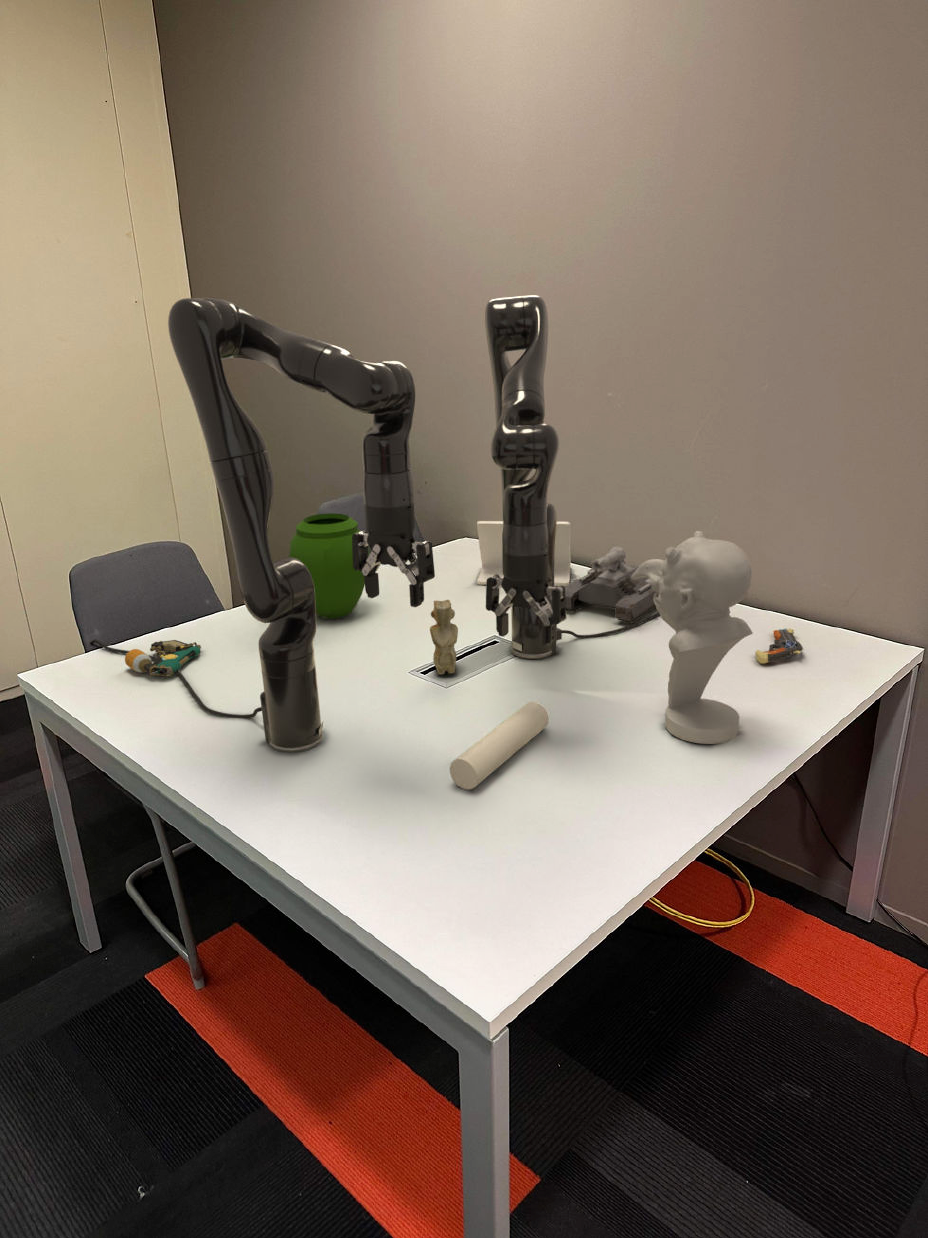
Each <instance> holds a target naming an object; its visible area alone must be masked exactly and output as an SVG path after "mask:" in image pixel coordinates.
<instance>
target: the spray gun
mask: <svg viewBox="0 0 928 1238" xmlns="http://www.w3.org/2000/svg"><path fill="white" fill-rule="evenodd" d="M201 649H202V645H201V644H198V643H197V642H196V641H194V642H190V643H186V642H183V641H181V640H177V639H171V640H159V641H154V642H153V643H151V645H150V648H149V651H150V652H155V653H156V658H155V659H154V660H152V659H151V658H150V657H149V656H148V655H149V654H147V653H145V651H142V650H141V649H138V648H132V649H130V650H128V651H129V652H128V653H127V654H125V656H124V662H125V665H126V666H127V667H128V668H130V669H131V670H133V671H135V672H137V673H139V674H143V673H146V672H147V673H149V674H150V675H151V676H162V677H171V676H172V675H173V674H174V673H175V671H177V670H178V671H179V669H181V667H182V666H184V664H186V663H187V662H189V660H191V659H192V658H196V657H197V656H198V655H200V654H201ZM168 652H170V653H169V654H166V653H168Z"/></svg>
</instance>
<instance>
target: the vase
mask: <svg viewBox="0 0 928 1238" xmlns="http://www.w3.org/2000/svg"><path fill="white" fill-rule="evenodd" d="M358 524H359V523H358V521H356V520H355V519H353V518H352V517H350V516H349V515H347V514H344V513H335V512H334V513H333V512H331V513H320V514H313V515H310V516H307V517H305V518H303V519H302V520H301V521H300V522H299V523H298V524H297V525H296V526H295V532H296V533H295V534H294V536H293V537H292V538H291V540H290V542H289V551H288V557H292V558H296V559H298V560H300V561H301V562H302V563H303V564H304V565H305V566H306V567H307V569H308V570H309V572H310V574H311V577H312V579H313V583H314V589H315V602H316V616H318V617H320V618H324V619H326V620H327V619H329V620H336V619H341V618H345V617H347V616H349V615H350V614H351V613H352V612H353V611H354V610H355V608H356V607H357V605H358V604H359V601H360V599H361V597H362V595H363V592H364V590H365V579H364V575H363V574H362V572H361V571H360V570H355V569H354V568H353V554H352V535H353V534H355V533H358V532H361V531H362V530H360V529H359V527H358ZM369 555H370V547H368V557H369ZM360 561H361V556H360Z"/></svg>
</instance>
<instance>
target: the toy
mask: <svg viewBox="0 0 928 1238" xmlns="http://www.w3.org/2000/svg"><path fill="white" fill-rule="evenodd" d="M626 557H627V556H626V551H625V549H624V548H622V547H621V546H614V547H612V548H611V549H610V550H609V552H608V553H607V554H605V555H604V556H601V557H599V558H598V559H597V557H596V558H594V559H593V560H592V561H590V562H589V563H590V564H591V565H592V567H591V568H590V569H589V570H587V573H586V575H584V576H582V577H580V578H578V579H577V580H575V581H573V582H570V583H569V585H567V586H564V587H565V596H566V612H572V613H575V612H577V611H579V610H581V609H582V608H585V607H586V606H588V605H592V606H598V607H602V608H603V607H604V608H609V609H613V610H614V618H615V619H617V620H618V621H621V622H626V623H630V624H633V623H636V622H637V621H638V620H640V619H641V618H642V617H644V616H645V615H647V614H648V613H650V612H651V611H652V610H654V609H655V608H656V605H655V604H654V600H653V597H654V594H655V593H656V592H655V591H654V590H653V589H652V587H651V583H650V579H649V578H647V577H644V578H640V579H635V580H634V579H632V578H631V576H632V575H633V574H634V573H635V571H636V570H637V569H638V568H639V566H635V565H629V564H628V563H627V562H626V561H625V559H626Z"/></svg>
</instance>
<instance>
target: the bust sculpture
mask: <svg viewBox="0 0 928 1238" xmlns="http://www.w3.org/2000/svg"><path fill="white" fill-rule="evenodd" d="M664 554H665V559H660V558H653V559H648V560H645V561H644V562H642V563H641V564H640V565H639V566H638V567H639V568H638V569H637V570H636V571H635V573H634V574H633V575H632V576H631V578H632V579H634V580H635V579H640V578H644V577H647V578H649V579H650V583H651V587H652V589H653V590H654V591H655V592H656V593H655V594H654V597H653V600H654V604H655V605H656V607H655V608H656V611H657V612H659V615H660V618H661V619H662V620H663V622H665V623H666V624H667V625H668V626H669V627H670V628H671V629H672V630H673V631H675V634H673V635H672V636H671V638H669V641H668V649H669V653H670V654H671V657H672V658H673V660H672V663H671V666H670V669H669V673H668V682H667V694H668V696H667V697H668V700H667V705H668V706H666V708H665V718H664V726H665V728H666V730H667V731H668V732H669V733H670V734H671V735H673V736H675V737H676V738H679V739H680V740H683V741H687V742H691V743H696V744H703V745H713V744H721V743H726V742H729V741H731V740H733V739H734V738H736V736H738V733H739V729H740V728H739V727H740V715H739V714H740V713H738V711H737V710H736V709H735V708H734V707H732V706H730V705H728V704H727V703H724V702H721V701H719V700H714V699H709V698H702V696H703V695H704V694H703V693H704V692H705V690H706V687H707V685H708V684H709V681H710V680H711V678H712V676H713V674H714V673H715V671H716V670H717V668H718V667H719V665H720V664H721V662H722V661H723V660H724V658H725V656H726V655H727V654H728V653H729V652H730V651H731V650H732V649H733V648H734V647H735V646H736V645H738V643H739V642H741V641H742V640H743V639H745V638H747V637H749V636H751V635H753V634H754V632H753V630H752V629H751V628H750V626H749V624H748V623H747V622H746V621H745V620H744V619H743V618H740V617H737V616H731V614H730V613H731V610H730V608H732V607H734V606H736V605H737V604H739V603H740V602H741V601H742V600H744V599H745V597H746V595H747V594H748V592H749V590H750V586H751V583H752V574H753V573H752V572H753V571H752V565H751V561H750V559H749V557H748V555H747V554H746V552H745V551H744V550H743V549H742V548H741V547H740V546H739V545H737V544H736V543H734V542H731V541H728V540H723V539H711V538H707V536H706V534H705V532H703V530H696V531H694V533H693V536H691V537H689V538H687V539H684V541H682V542H681V543H679V544H678V545H677V546H675V547H674V546H669V547H667V548H666V551H665V553H664Z"/></svg>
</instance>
